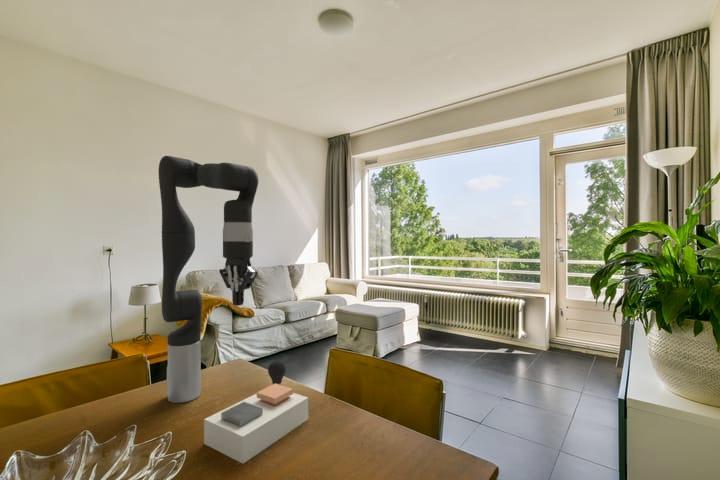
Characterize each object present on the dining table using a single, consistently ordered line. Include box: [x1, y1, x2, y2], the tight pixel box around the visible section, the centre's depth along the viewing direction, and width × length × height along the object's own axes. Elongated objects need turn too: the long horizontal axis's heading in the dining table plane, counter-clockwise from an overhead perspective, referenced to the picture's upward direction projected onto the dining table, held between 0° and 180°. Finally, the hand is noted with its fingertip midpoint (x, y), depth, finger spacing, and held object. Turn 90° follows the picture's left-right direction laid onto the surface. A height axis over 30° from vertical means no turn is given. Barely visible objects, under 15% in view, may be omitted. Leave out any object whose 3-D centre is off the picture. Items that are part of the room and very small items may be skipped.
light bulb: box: [267, 359, 287, 385], centre depth 112 cm, size 6×6×10 cm
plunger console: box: [203, 392, 309, 464], centre depth 89 cm, size 14×22×6 cm, turn 148°
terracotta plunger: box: [256, 383, 294, 406], centre depth 94 cm, size 7×7×6 cm
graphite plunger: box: [221, 402, 263, 427], centre depth 85 cm, size 7×7×6 cm
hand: (238, 304), depth 92 cm, fingers closed
